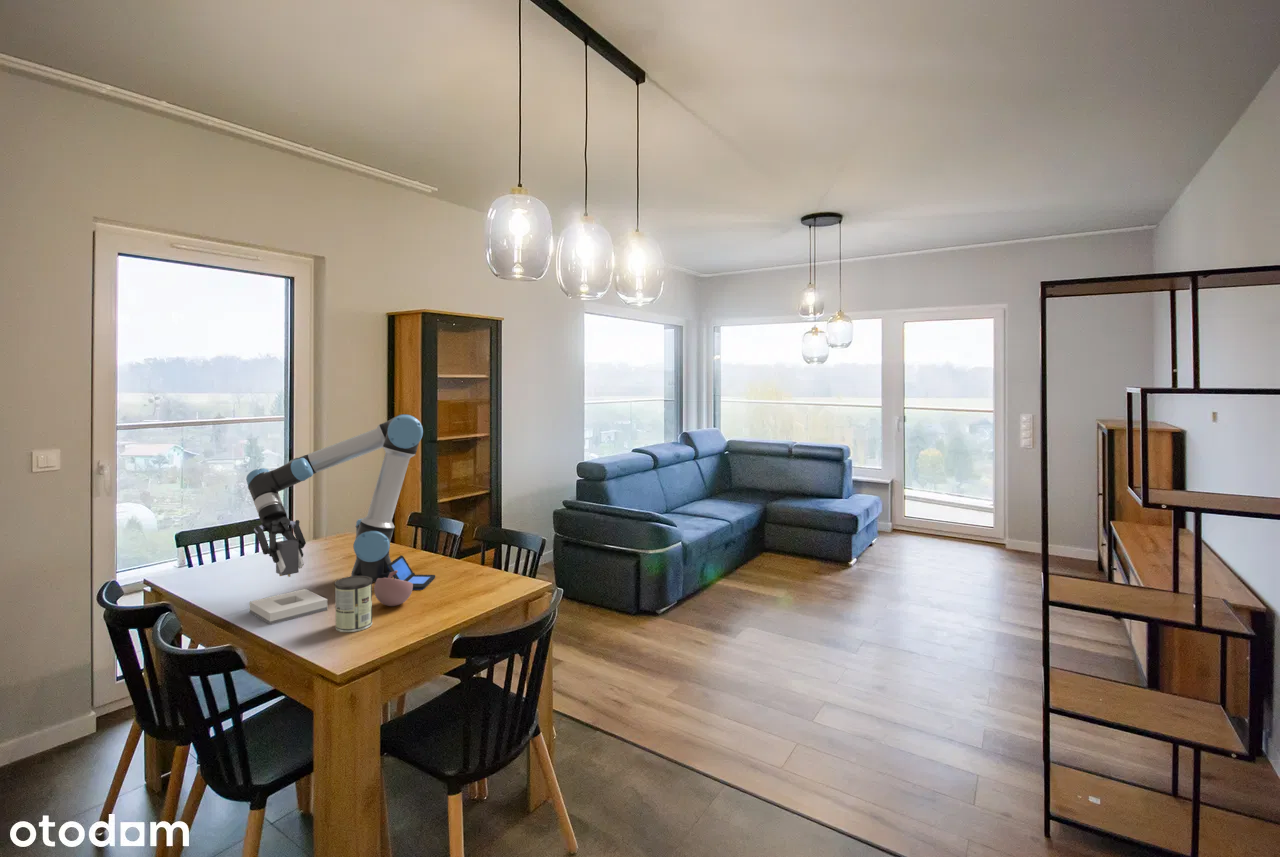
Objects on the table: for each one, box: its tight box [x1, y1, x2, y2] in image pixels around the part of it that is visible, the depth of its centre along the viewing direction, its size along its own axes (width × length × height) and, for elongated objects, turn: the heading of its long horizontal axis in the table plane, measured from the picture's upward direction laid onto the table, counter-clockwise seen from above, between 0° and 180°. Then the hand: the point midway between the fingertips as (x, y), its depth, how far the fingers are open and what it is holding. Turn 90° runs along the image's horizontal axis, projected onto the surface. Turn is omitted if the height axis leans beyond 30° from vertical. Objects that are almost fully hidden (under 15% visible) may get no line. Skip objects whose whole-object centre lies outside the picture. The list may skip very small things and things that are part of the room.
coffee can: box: [334, 576, 373, 633], centre depth 183 cm, size 10×10×14 cm
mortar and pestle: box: [373, 570, 413, 607], centre depth 202 cm, size 12×12×11 cm
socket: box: [249, 588, 328, 626], centre depth 195 cm, size 17×16×4 cm
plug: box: [275, 539, 299, 578], centre depth 194 cm, size 5×5×11 cm
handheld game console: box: [387, 555, 436, 591], centre depth 226 cm, size 16×13×9 cm
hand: (292, 567), depth 192 cm, fingers closed on plug, 5 cm apart
